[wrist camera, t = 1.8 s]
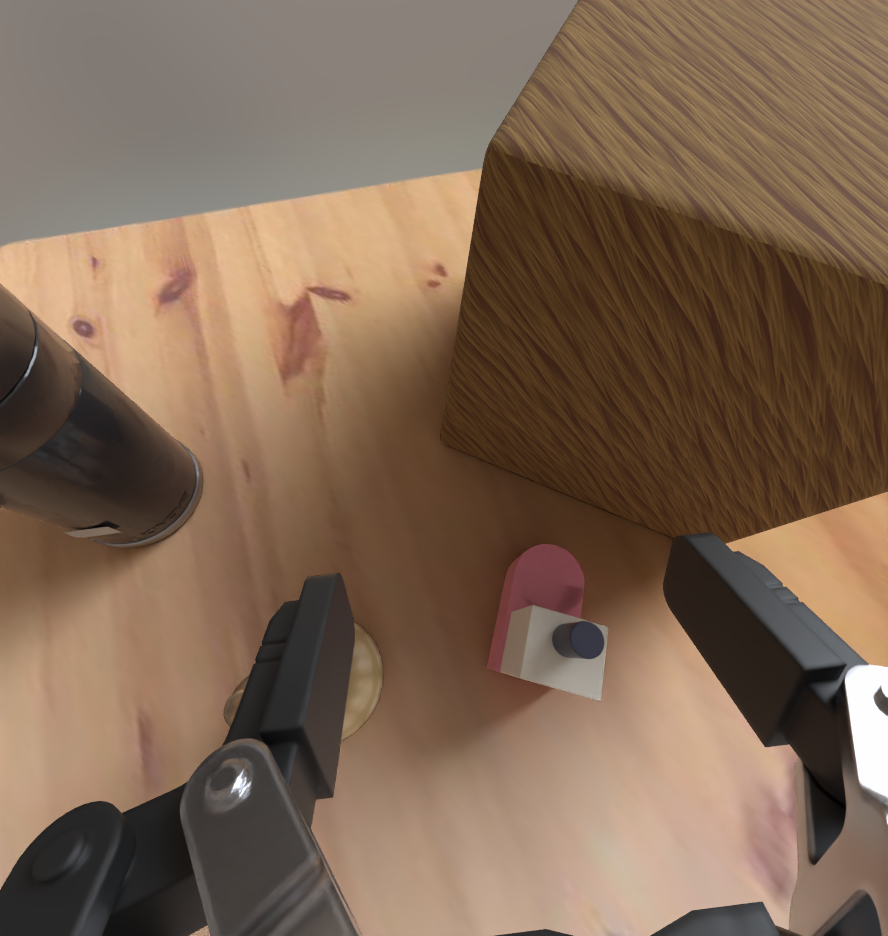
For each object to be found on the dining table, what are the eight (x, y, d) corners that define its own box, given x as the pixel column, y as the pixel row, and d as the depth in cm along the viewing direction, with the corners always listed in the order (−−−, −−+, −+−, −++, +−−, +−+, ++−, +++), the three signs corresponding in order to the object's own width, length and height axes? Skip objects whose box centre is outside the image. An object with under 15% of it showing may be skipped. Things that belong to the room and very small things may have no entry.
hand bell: (292, 773, 28) (168, 912, 14) (247, 655, 31) (100, 664, 16) (403, 700, 30) (400, 753, 16) (352, 596, 33) (308, 556, 18)
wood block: (738, 342, 46) (1068, 39, 23) (705, 553, 36) (1216, 396, 13) (522, 263, 48) (628, -88, 25) (436, 444, 38) (481, 142, 15)
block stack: (553, 688, 31) (633, 711, 20) (486, 668, 32) (528, 680, 21) (572, 562, 35) (648, 524, 24) (511, 545, 35) (559, 499, 24)
